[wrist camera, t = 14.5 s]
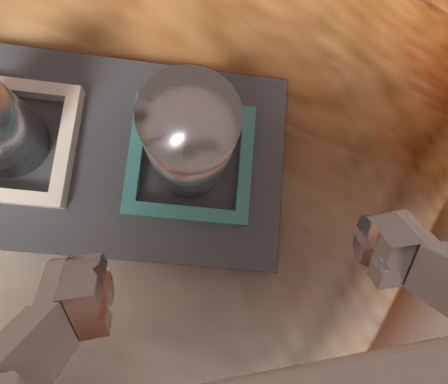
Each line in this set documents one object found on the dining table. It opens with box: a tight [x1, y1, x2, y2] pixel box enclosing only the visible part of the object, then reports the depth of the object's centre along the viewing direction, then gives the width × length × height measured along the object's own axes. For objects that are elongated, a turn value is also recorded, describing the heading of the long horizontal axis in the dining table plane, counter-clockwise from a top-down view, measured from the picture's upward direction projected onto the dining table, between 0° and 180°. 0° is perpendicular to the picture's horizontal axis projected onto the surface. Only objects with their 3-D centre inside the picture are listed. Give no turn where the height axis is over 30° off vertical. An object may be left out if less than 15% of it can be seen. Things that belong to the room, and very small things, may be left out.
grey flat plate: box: [0, 43, 288, 273], centre depth 22 cm, size 13×23×2 cm, turn 85°
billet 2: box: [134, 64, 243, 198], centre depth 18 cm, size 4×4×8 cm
